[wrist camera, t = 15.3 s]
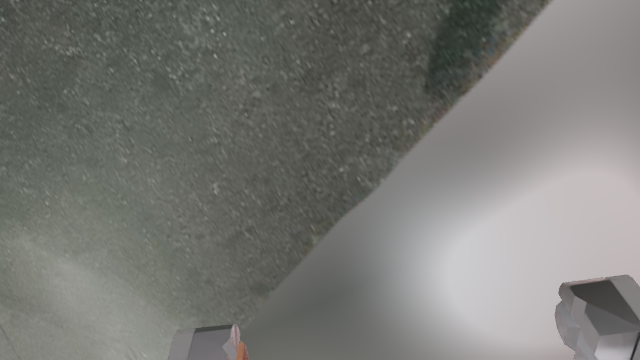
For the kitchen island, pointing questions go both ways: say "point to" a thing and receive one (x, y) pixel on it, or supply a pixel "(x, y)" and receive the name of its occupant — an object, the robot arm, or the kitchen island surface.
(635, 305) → the robot arm
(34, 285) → the kitchen island surface
